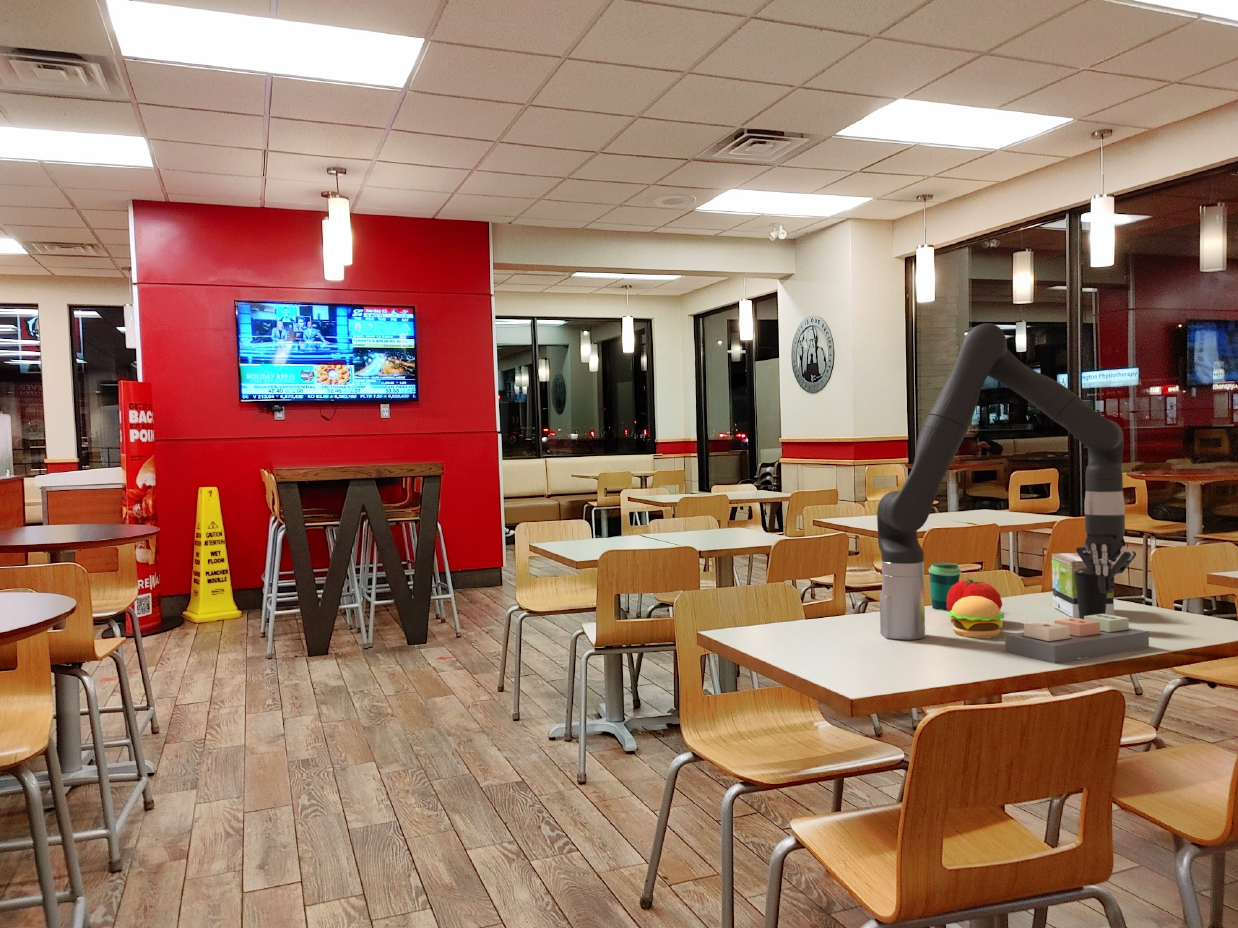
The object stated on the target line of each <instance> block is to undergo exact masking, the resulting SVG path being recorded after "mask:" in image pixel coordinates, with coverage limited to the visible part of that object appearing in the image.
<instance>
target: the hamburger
mask: <svg viewBox="0 0 1238 928" xmlns="http://www.w3.org/2000/svg"><path fill="white" fill-rule="evenodd" d="M947 614H948V617H950V620H949V621H950V622H951V624H953V626H952V630H953V632H954V633H955V635H958V636H961V637H965V636H967V637H966V638H973V637H977V638H979V639H988V637H990V638H995V637H997V636H998V635H1000V633H1001V629H1002V628H1003V625H1004V624H1003V621H1002V619H1005V614H1004V613H1001V609H999V608H998V606H997V604H995V603H994V602H993V601H992V600H989V599H987V598H984V597H981V596H968V597H965V598H962V599H960V600H958V601H957V602H956V603H955V604H954V606H953V607H952V610H951V611H950V612H947Z"/></svg>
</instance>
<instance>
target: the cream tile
mask: <svg viewBox="0 0 1238 928" xmlns="http://www.w3.org/2000/svg"><path fill="white" fill-rule="evenodd" d="M1023 632H1024V636H1027V637H1032V638H1036V639H1041V640H1045V641H1054V640H1061V639H1067V638H1070V628H1069V626H1064V625H1059V624H1055V622H1048V621H1039V622H1032V623H1025V624H1023Z"/></svg>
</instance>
